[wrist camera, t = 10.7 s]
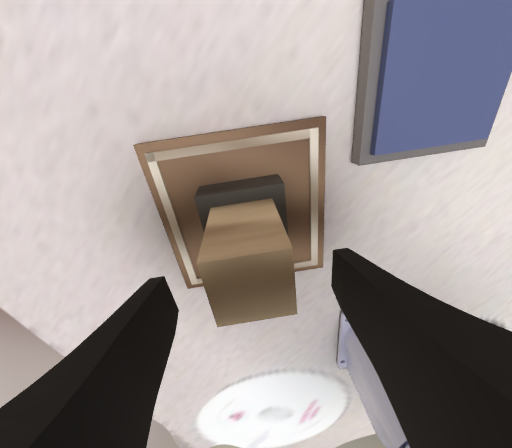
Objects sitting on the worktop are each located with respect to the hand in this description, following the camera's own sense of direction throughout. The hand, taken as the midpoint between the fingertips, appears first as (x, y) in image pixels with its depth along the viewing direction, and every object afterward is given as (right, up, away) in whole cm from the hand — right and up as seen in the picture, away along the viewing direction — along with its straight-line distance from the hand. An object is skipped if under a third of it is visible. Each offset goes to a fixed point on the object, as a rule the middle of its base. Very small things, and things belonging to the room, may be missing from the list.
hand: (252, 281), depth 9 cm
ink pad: (+10, +11, +3) cm, 15 cm away
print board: (-1, +3, +6) cm, 7 cm away
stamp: (-1, +3, +5) cm, 6 cm away
